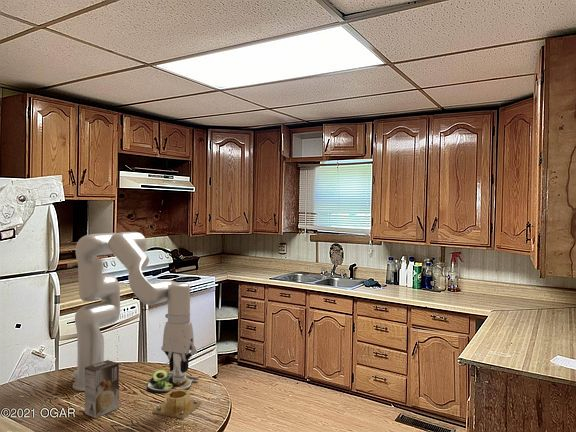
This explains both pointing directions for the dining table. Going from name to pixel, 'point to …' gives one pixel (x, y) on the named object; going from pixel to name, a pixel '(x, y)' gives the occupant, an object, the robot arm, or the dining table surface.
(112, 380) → the coffee box
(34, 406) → the dining table surface
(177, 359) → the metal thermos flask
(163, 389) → the avocado toast plate
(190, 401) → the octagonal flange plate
